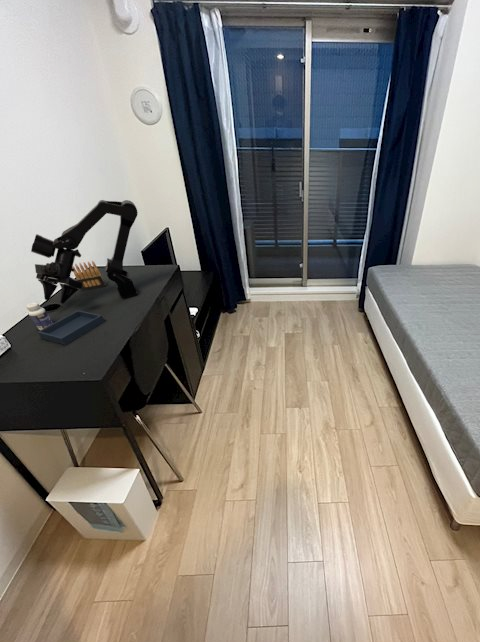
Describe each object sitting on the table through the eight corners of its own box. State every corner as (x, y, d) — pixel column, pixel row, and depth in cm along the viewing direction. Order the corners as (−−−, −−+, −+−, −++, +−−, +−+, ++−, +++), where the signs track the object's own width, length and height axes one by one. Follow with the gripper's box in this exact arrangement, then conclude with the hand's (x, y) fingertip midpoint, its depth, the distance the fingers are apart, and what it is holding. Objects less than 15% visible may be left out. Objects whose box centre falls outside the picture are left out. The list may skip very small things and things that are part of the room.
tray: (81, 316, 134) (78, 310, 132) (104, 321, 130) (101, 315, 128) (41, 338, 122) (37, 332, 121) (65, 345, 118) (61, 338, 116)
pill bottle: (47, 331, 126) (32, 308, 120) (35, 330, 127) (20, 307, 121) (57, 324, 130) (43, 301, 124) (46, 323, 131) (31, 301, 125)
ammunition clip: (81, 290, 154) (68, 265, 146) (82, 289, 155) (69, 263, 147) (106, 286, 156) (94, 261, 148) (106, 284, 157) (94, 259, 149)
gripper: (26, 251, 125) (16, 291, 125) (58, 256, 118) (47, 297, 118) (56, 264, 135) (46, 300, 135) (87, 269, 129) (77, 307, 129)
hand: (54, 301), depth 129 cm, fingers open, 9 cm apart
